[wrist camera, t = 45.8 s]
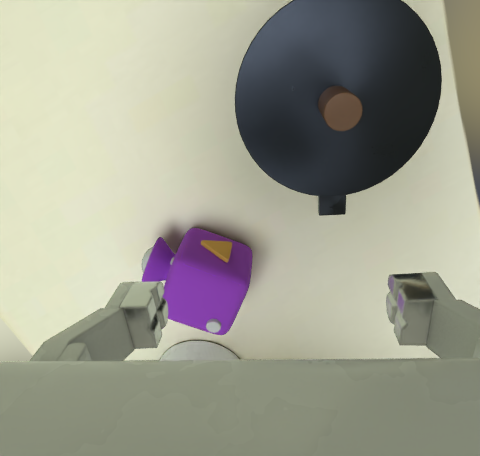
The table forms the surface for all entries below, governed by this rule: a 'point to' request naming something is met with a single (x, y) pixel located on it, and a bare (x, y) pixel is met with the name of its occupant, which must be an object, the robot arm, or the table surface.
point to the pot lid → (337, 93)
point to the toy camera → (201, 279)
